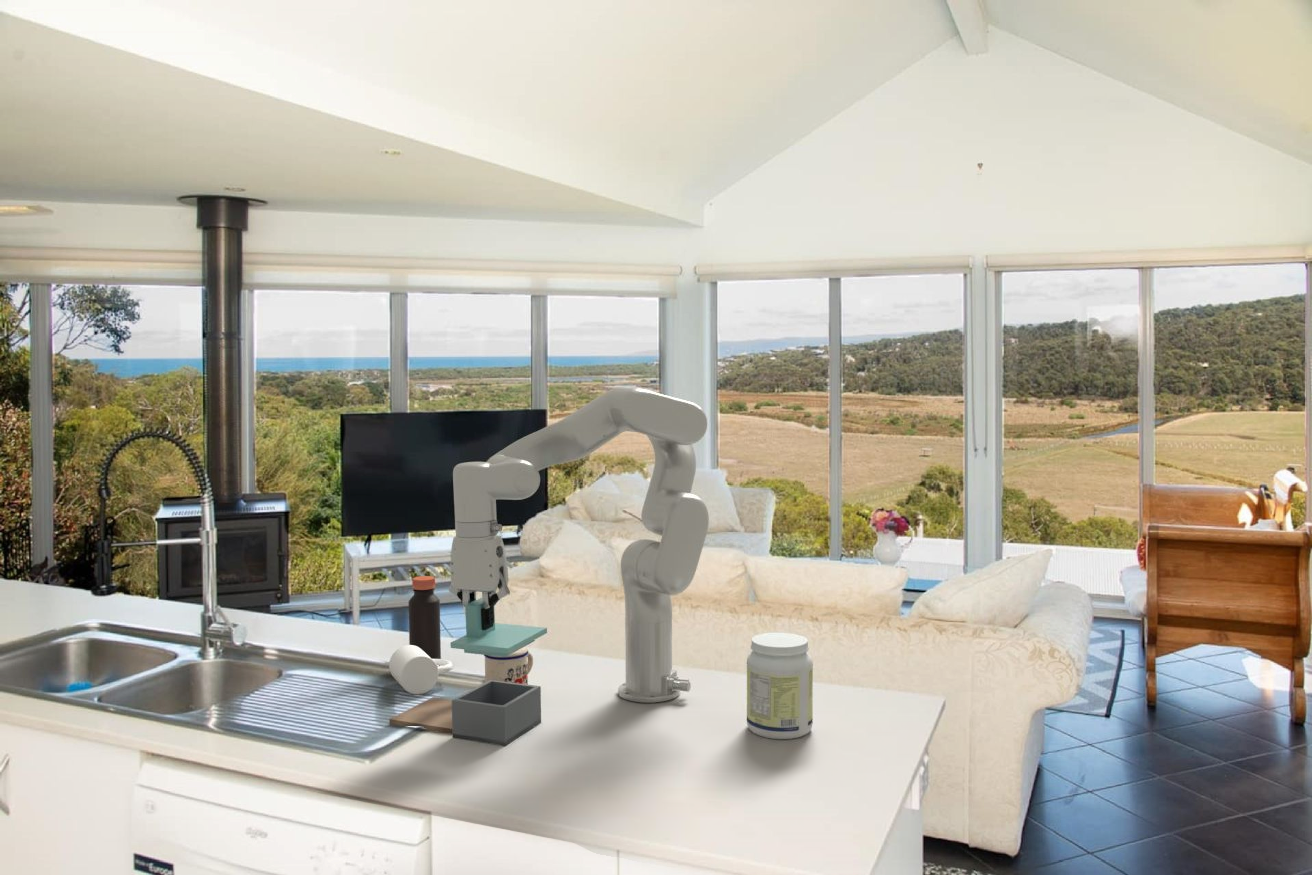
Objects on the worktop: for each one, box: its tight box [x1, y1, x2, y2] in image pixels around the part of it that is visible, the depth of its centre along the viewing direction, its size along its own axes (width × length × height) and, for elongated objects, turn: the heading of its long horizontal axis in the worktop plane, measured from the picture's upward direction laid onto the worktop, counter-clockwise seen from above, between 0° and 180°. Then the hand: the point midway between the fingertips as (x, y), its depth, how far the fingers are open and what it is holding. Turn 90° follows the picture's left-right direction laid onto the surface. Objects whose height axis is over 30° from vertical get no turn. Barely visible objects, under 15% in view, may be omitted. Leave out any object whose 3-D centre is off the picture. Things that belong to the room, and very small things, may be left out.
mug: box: [388, 644, 453, 695], centre depth 220 cm, size 12×10×8 cm
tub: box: [451, 680, 542, 747], centre depth 194 cm, size 11×13×7 cm
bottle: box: [408, 575, 442, 659], centre depth 234 cm, size 7×7×20 cm
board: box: [389, 696, 453, 735], centre depth 201 cm, size 14×14×1 cm
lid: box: [449, 597, 548, 657], centre depth 193 cm, size 12×14×8 cm
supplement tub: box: [746, 632, 814, 740], centre depth 193 cm, size 12×12×17 cm
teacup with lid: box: [483, 645, 534, 685], centre depth 217 cm, size 12×9×12 cm
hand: (480, 626), depth 195 cm, fingers closed on lid
